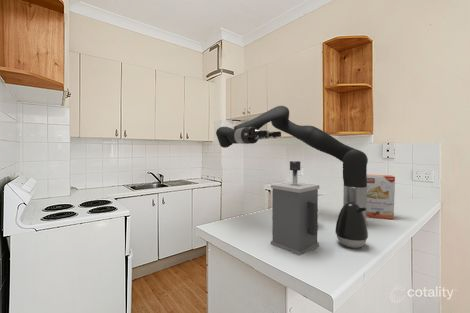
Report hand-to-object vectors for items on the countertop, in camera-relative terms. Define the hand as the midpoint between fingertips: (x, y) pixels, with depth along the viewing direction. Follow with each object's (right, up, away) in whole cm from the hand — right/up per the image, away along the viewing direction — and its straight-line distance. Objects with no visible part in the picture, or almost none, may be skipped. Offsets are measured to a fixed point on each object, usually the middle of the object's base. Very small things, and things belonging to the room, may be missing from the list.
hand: (273, 133), depth 93 cm
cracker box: (+55, -39, +22) cm, 71 cm away
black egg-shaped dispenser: (+25, -41, -12) cm, 49 cm away
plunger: (+5, -39, -11) cm, 41 cm away
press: (+6, -40, -12) cm, 43 cm away
